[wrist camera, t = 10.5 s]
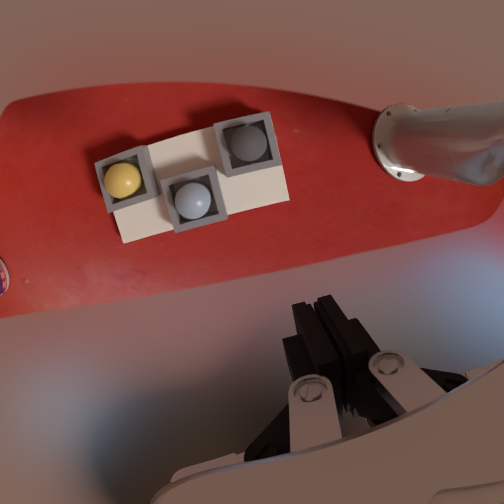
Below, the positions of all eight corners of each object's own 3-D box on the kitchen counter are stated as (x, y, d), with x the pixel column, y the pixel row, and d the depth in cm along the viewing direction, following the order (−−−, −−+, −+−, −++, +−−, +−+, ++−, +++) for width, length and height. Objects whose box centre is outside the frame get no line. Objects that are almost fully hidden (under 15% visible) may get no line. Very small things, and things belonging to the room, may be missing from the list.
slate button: (207, 177, 37) (205, 179, 33) (215, 208, 38) (214, 213, 35) (176, 186, 37) (170, 189, 33) (184, 216, 38) (180, 222, 35)
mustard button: (139, 158, 35) (130, 158, 32) (147, 188, 37) (139, 192, 33) (112, 168, 35) (100, 170, 32) (120, 197, 37) (109, 202, 33)
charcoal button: (258, 125, 36) (262, 122, 32) (266, 156, 37) (270, 156, 33) (226, 133, 36) (226, 130, 32) (234, 164, 37) (235, 164, 33)
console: (267, 115, 38) (273, 110, 33) (286, 197, 41) (294, 203, 37) (104, 162, 37) (90, 164, 33) (127, 239, 41) (116, 250, 37)
